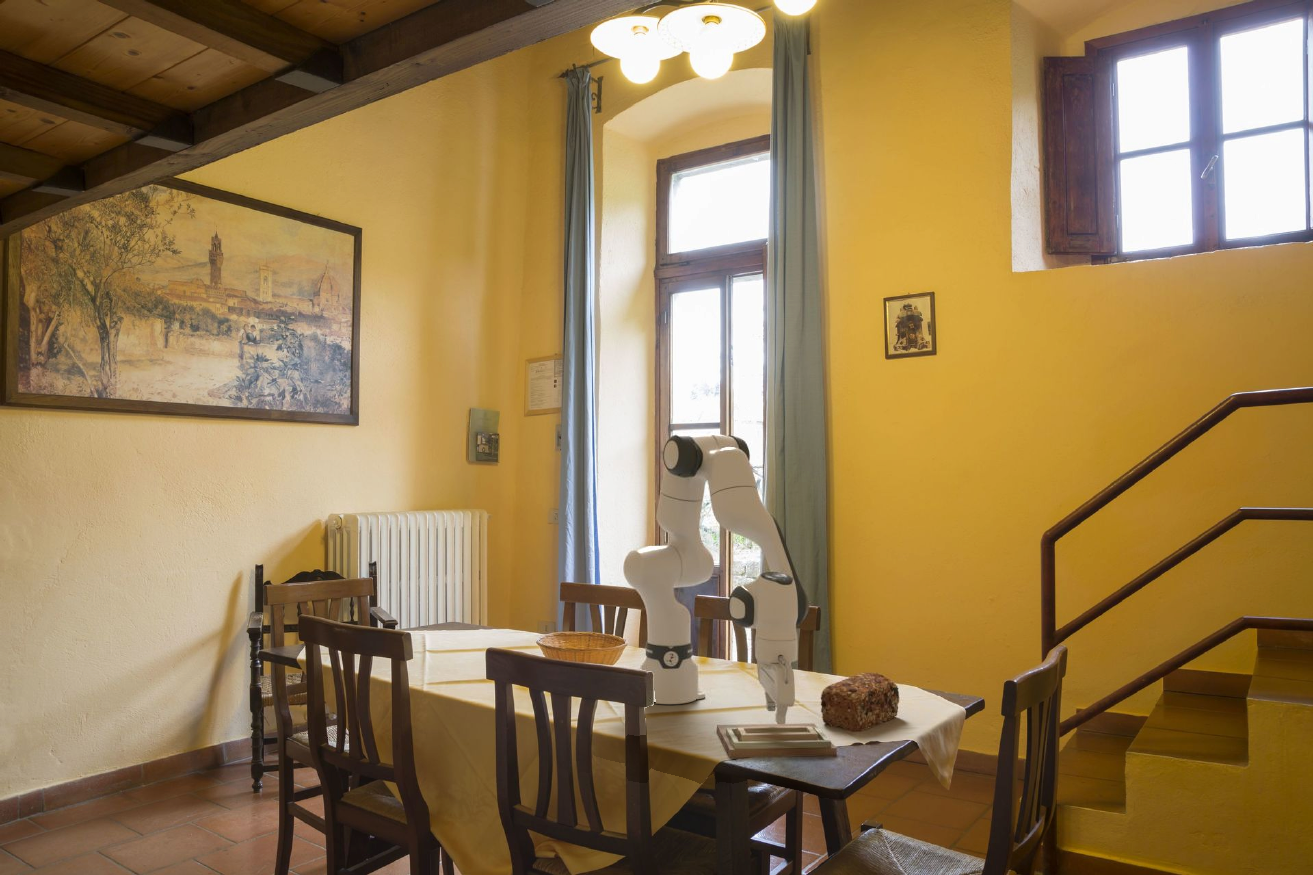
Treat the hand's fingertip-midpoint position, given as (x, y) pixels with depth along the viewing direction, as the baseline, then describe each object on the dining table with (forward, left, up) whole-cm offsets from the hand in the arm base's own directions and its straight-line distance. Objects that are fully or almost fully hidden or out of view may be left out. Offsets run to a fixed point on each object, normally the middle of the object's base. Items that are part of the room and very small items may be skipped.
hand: (775, 716), depth 184 cm
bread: (-19, +24, -7) cm, 31 cm away
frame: (0, 0, -5) cm, 5 cm away
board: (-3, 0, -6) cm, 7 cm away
